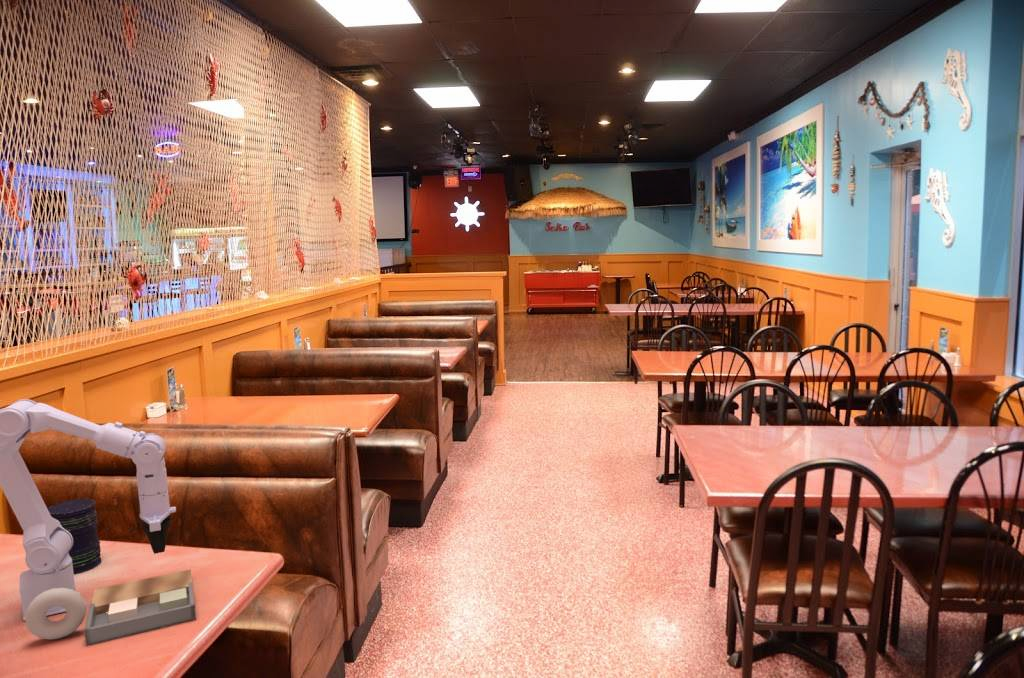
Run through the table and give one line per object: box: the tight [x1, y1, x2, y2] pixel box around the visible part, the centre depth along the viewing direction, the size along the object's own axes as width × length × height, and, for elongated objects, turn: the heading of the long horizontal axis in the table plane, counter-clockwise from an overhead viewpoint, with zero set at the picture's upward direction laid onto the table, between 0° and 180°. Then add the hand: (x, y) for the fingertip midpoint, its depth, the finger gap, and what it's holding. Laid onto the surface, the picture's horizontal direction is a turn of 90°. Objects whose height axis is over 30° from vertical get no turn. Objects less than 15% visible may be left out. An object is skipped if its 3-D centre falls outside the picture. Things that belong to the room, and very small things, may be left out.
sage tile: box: [160, 588, 187, 611], centre depth 148 cm, size 5×5×2 cm
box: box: [84, 581, 197, 646], centre depth 143 cm, size 19×12×3 cm, turn 116°
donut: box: [24, 588, 87, 641], centre depth 137 cm, size 10×4×10 cm, turn 117°
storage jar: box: [47, 498, 102, 575], centre depth 168 cm, size 10×10×15 cm
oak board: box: [91, 569, 193, 615], centre depth 153 cm, size 19×9×2 cm, turn 116°
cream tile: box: [108, 598, 138, 623], centre depth 144 cm, size 5×5×2 cm
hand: (159, 551), depth 155 cm, fingers closed
